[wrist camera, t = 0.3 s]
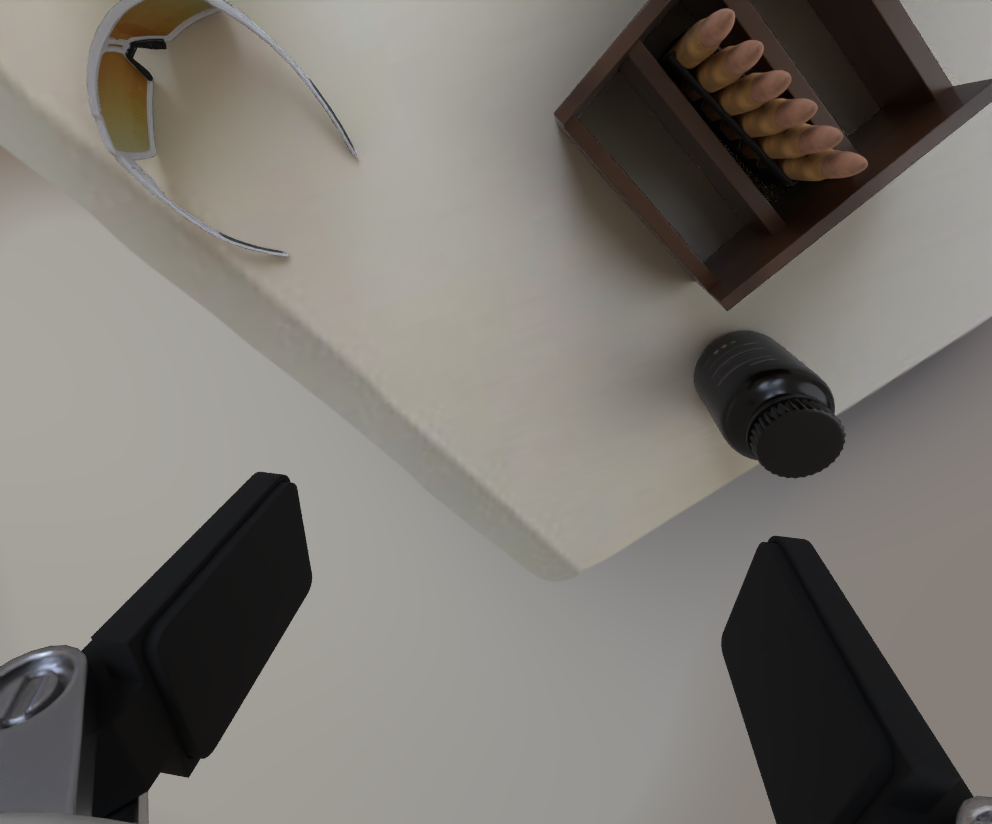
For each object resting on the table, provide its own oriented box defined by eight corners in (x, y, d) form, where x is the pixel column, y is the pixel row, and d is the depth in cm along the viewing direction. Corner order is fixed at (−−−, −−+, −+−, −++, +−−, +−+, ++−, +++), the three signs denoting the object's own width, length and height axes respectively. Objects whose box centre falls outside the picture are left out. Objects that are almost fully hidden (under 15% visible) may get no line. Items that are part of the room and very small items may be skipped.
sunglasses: (185, -60, 30) (134, -84, 26) (380, 129, 36) (363, 134, 32) (107, 130, 36) (55, 135, 32) (285, 268, 42) (260, 287, 38)
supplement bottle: (799, 377, 38) (887, 459, 28) (718, 421, 41) (770, 512, 30) (757, 309, 36) (835, 370, 26) (675, 360, 39) (715, 434, 28)
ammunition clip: (789, 160, 32) (898, 162, 21) (764, 185, 33) (859, 197, 22) (674, 39, 30) (733, -27, 19) (651, 68, 31) (696, 20, 20)
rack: (756, -113, 26) (826, -212, 19) (902, 106, 30) (1006, 90, 23) (556, 123, 33) (553, 113, 26) (696, 281, 36) (727, 311, 29)
